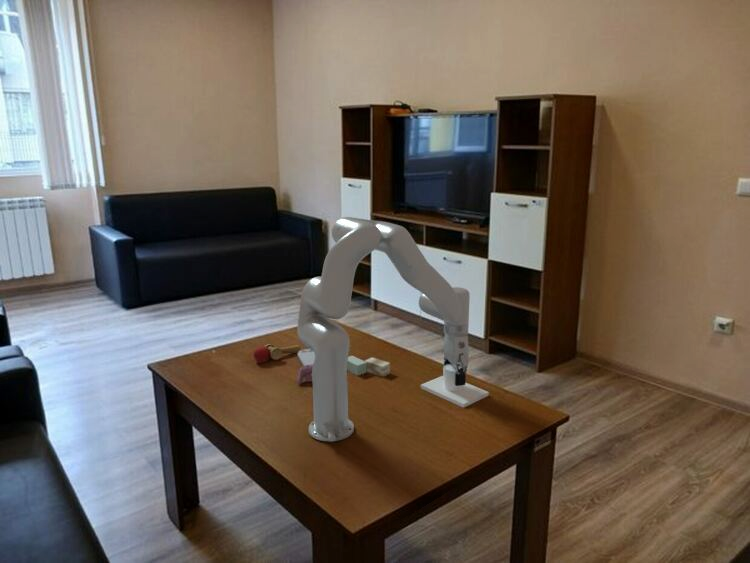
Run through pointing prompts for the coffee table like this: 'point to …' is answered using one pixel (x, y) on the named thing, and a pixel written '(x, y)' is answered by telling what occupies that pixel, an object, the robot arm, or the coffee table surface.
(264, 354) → the kendama
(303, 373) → the video game controller
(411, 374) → the coffee table surface
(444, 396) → the ceramic tile
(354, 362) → the sage block
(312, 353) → the game console
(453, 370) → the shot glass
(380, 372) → the birch block
